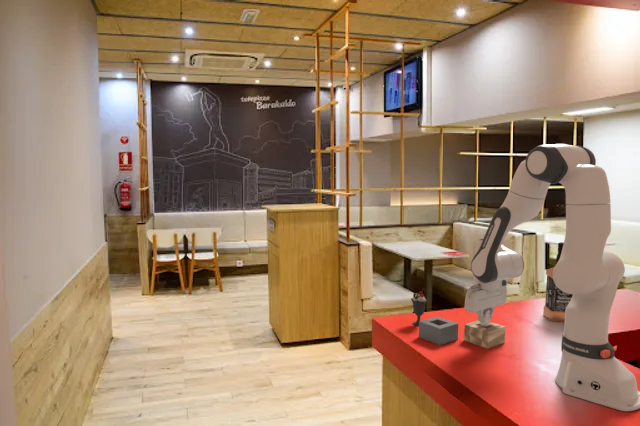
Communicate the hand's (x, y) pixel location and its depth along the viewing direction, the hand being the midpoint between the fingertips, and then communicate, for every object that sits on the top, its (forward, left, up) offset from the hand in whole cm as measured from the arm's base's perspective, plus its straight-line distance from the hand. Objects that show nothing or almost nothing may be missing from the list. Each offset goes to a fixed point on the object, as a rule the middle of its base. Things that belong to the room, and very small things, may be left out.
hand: (485, 319), depth 173 cm
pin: (0, 0, -8) cm, 8 cm away
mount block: (0, 0, -8) cm, 8 cm away
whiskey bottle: (-2, -49, -8) cm, 50 cm away
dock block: (+12, +11, -8) cm, 18 cm away
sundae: (+27, +5, -8) cm, 29 cm away
